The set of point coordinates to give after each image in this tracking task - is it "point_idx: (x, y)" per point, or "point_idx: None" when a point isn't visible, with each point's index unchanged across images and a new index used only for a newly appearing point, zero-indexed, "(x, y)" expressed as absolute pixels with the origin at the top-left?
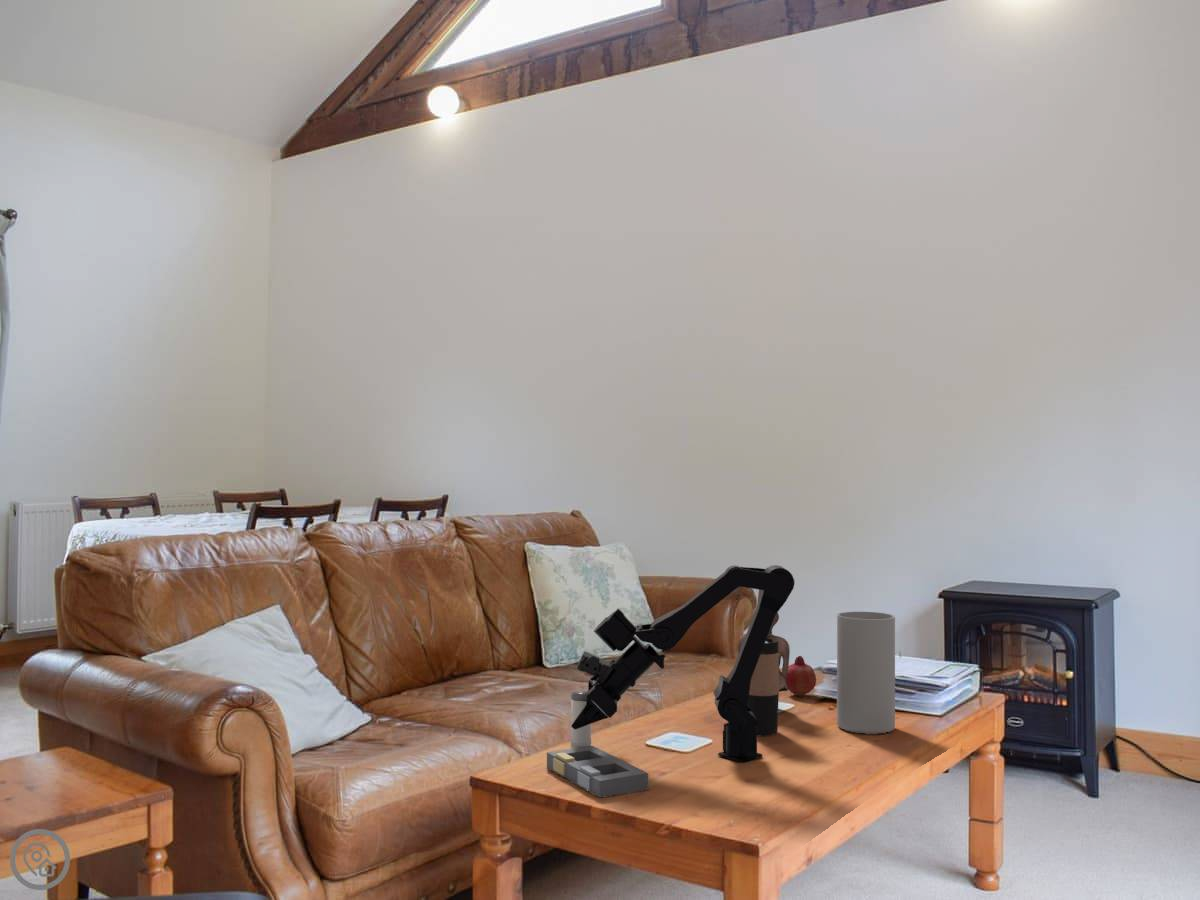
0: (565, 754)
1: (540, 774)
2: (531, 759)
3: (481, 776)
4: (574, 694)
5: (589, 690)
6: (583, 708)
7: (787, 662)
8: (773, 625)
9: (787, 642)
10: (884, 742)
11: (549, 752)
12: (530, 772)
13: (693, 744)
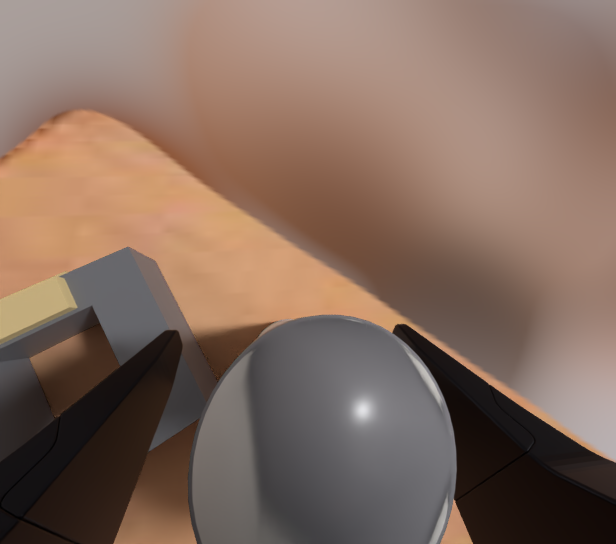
0: (31, 315)
1: (88, 247)
2: (244, 219)
3: (91, 111)
4: (232, 363)
5: (576, 495)
6: (41, 464)
7: None
8: None
9: None
10: None
11: (122, 255)
12: (113, 220)
13: None
